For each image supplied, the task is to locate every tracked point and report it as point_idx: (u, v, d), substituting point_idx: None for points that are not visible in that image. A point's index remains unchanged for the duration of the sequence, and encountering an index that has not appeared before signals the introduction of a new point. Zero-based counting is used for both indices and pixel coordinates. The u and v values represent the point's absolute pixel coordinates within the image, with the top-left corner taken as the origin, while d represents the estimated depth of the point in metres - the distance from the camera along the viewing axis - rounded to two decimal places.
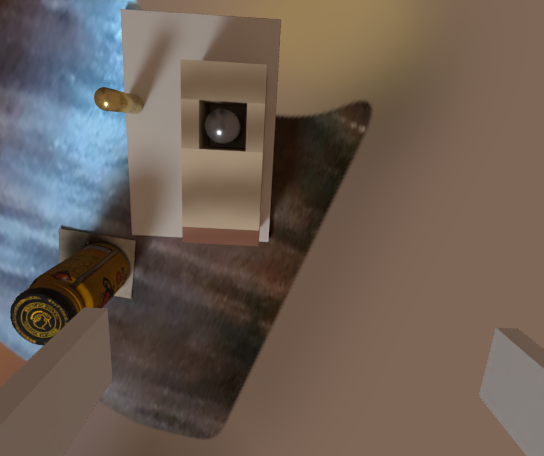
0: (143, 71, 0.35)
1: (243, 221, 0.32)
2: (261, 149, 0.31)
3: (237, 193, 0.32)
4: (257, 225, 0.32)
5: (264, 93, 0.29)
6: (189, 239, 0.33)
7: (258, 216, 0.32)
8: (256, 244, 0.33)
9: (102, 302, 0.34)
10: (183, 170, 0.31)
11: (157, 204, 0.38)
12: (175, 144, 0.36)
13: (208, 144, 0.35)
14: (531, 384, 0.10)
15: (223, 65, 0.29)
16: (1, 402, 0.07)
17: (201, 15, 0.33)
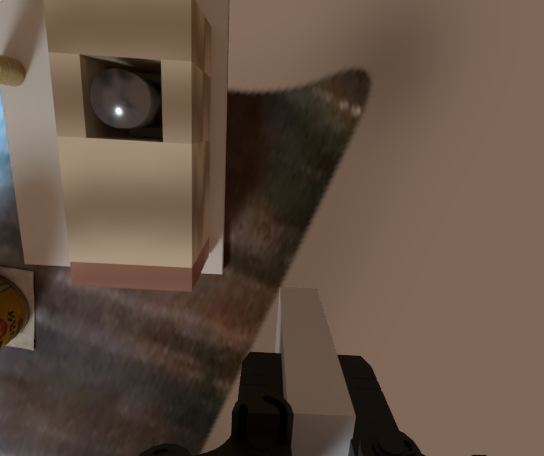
0: (21, 19, 0.23)
1: (165, 253, 0.20)
2: (189, 138, 0.19)
3: (153, 209, 0.20)
4: (189, 260, 0.20)
5: (189, 43, 0.17)
6: (83, 280, 0.21)
7: (189, 246, 0.20)
8: (189, 288, 0.21)
9: None
10: (63, 173, 0.19)
11: (58, 221, 0.26)
12: None
13: (123, 132, 0.23)
14: None
15: None
16: (296, 350, 0.10)
17: None
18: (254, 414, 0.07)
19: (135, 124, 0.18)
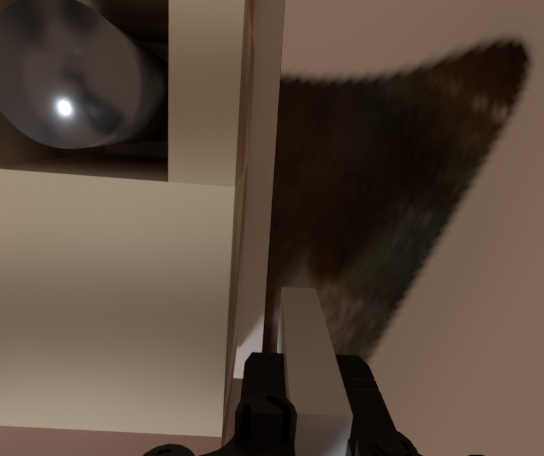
0: None
1: (167, 409, 0.10)
2: (229, 175, 0.08)
3: (143, 325, 0.09)
4: (216, 423, 0.10)
5: None
6: None
7: (219, 396, 0.10)
8: None
9: None
10: None
11: None
12: None
13: (91, 148, 0.13)
14: None
15: None
16: (299, 350, 0.10)
17: None
18: (257, 414, 0.07)
19: (103, 139, 0.07)
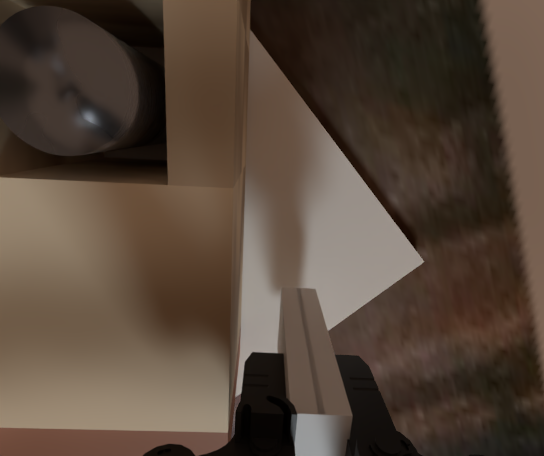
0: None
1: (174, 407, 0.10)
2: (227, 176, 0.08)
3: (148, 325, 0.09)
4: (222, 419, 0.10)
5: None
6: None
7: (224, 393, 0.10)
8: None
9: None
10: None
11: None
12: None
13: (91, 154, 0.13)
14: None
15: None
16: (299, 350, 0.10)
17: None
18: (258, 414, 0.07)
19: (128, 108, 0.07)
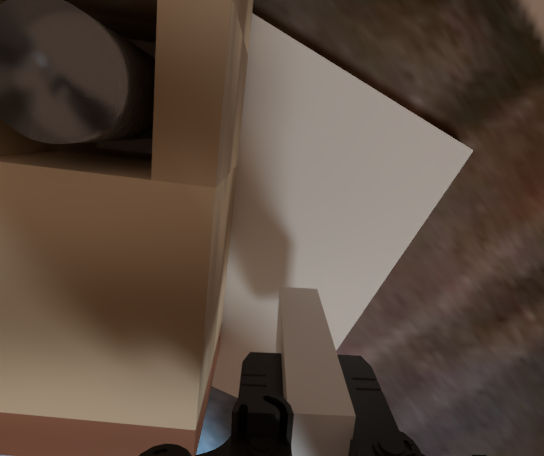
0: None
1: (143, 401, 0.10)
2: (211, 176, 0.08)
3: (122, 318, 0.09)
4: (190, 416, 0.10)
5: None
6: None
7: (194, 391, 0.10)
8: None
9: None
10: None
11: (253, 345, 0.16)
12: None
13: None
14: None
15: None
16: (296, 350, 0.10)
17: None
18: (254, 414, 0.07)
19: (117, 69, 0.07)
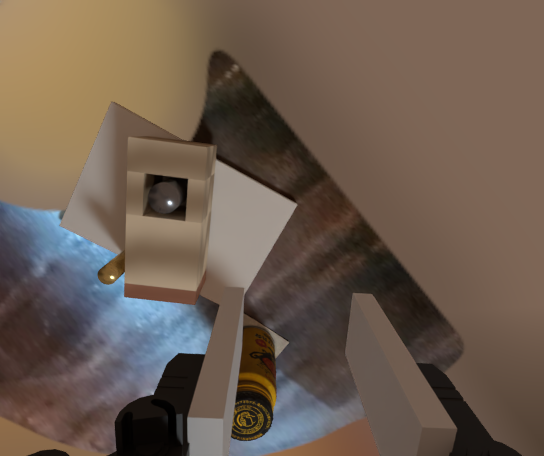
0: (110, 232, 0.40)
1: (181, 281, 0.35)
2: (200, 220, 0.33)
3: (176, 257, 0.34)
4: (194, 286, 0.35)
5: (204, 171, 0.32)
6: (130, 294, 0.35)
7: (195, 278, 0.35)
8: (193, 303, 0.35)
9: (267, 367, 0.37)
10: (127, 233, 0.33)
11: (219, 279, 0.41)
12: None
13: None
14: (363, 335, 0.12)
15: (167, 145, 0.31)
16: (219, 351, 0.10)
17: (85, 166, 0.38)
18: (139, 420, 0.07)
19: (179, 197, 0.32)
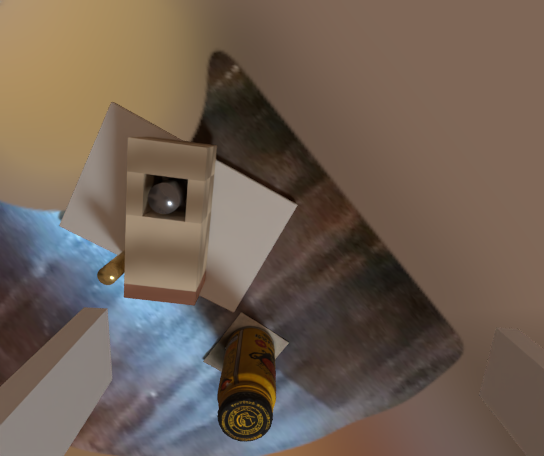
0: (109, 233, 0.40)
1: (181, 282, 0.35)
2: (200, 220, 0.33)
3: (176, 257, 0.34)
4: (194, 287, 0.35)
5: (204, 172, 0.32)
6: (130, 295, 0.35)
7: (195, 279, 0.35)
8: (192, 303, 0.35)
9: (267, 368, 0.37)
10: (127, 234, 0.33)
11: (218, 279, 0.41)
12: None
13: None
14: (531, 384, 0.10)
15: (167, 145, 0.31)
16: (1, 402, 0.07)
17: (85, 166, 0.38)
18: None
19: (178, 198, 0.32)
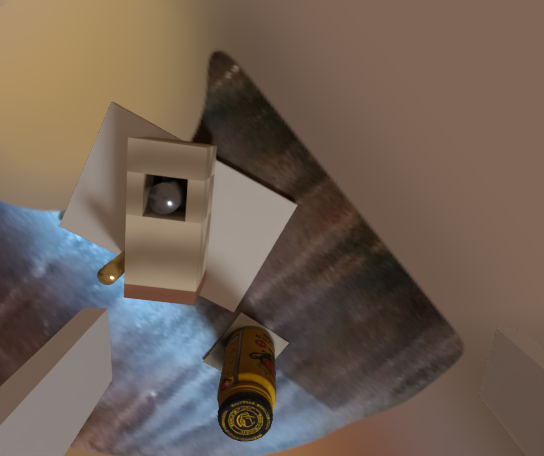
0: (109, 233, 0.40)
1: (181, 282, 0.35)
2: (200, 220, 0.33)
3: (176, 257, 0.34)
4: (194, 287, 0.35)
5: (204, 172, 0.32)
6: (130, 295, 0.35)
7: (195, 279, 0.35)
8: (192, 303, 0.35)
9: (267, 368, 0.37)
10: (127, 234, 0.33)
11: (218, 279, 0.41)
12: None
13: None
14: (531, 384, 0.10)
15: (167, 145, 0.31)
16: (1, 402, 0.07)
17: (85, 166, 0.38)
18: None
19: (178, 198, 0.32)
